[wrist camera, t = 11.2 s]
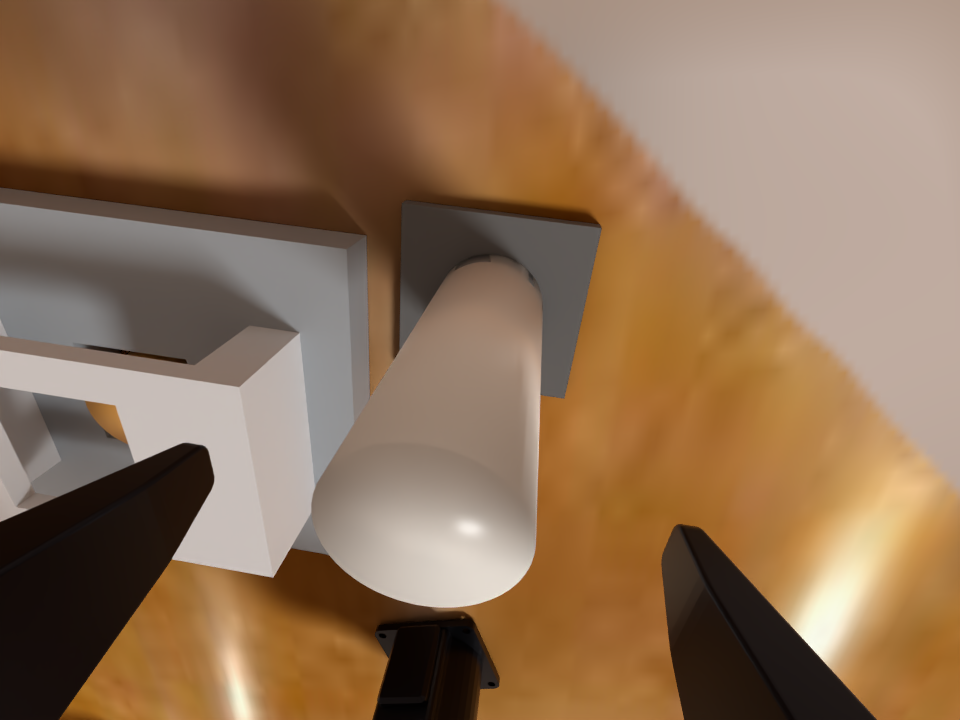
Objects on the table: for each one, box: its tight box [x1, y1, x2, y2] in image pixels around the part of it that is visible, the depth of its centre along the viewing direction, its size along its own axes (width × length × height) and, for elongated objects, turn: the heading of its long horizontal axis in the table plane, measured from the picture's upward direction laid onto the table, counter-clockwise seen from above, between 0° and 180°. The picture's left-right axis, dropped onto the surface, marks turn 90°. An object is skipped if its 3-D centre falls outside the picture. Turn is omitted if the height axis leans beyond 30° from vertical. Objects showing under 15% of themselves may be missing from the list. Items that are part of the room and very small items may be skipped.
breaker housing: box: [0, 188, 370, 577], centre depth 20 cm, size 16×19×6 cm
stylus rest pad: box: [400, 200, 602, 398], centre depth 18 cm, size 7×7×1 cm
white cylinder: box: [311, 254, 543, 608], centre depth 13 cm, size 4×4×11 cm
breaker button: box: [85, 351, 187, 444], centre depth 21 cm, size 4×4×2 cm
